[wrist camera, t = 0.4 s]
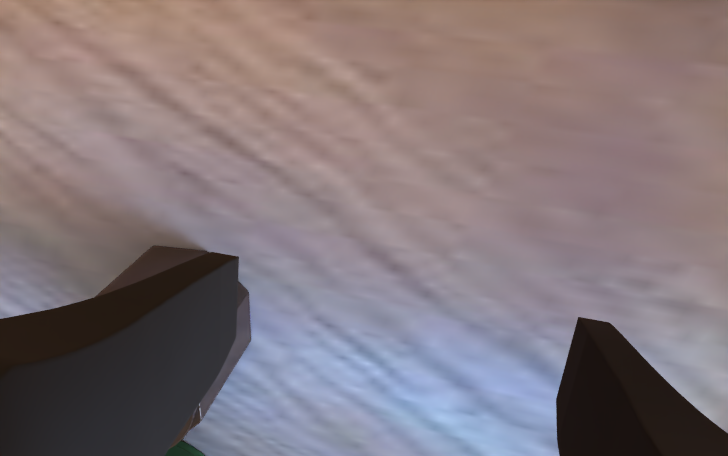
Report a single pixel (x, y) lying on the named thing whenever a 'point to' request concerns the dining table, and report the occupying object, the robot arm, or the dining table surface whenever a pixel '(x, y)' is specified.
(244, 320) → the faceted brown jar
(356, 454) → the dining table surface
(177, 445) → the bottle
